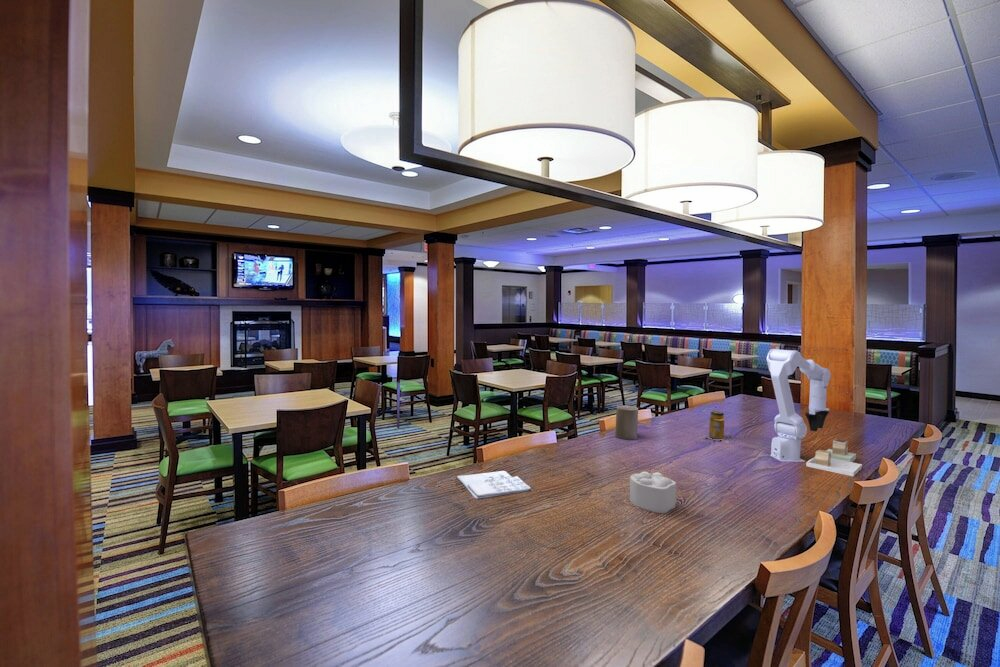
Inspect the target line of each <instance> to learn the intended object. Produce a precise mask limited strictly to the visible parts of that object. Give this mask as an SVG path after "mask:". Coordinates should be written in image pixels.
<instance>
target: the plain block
mask: <svg viewBox="0 0 1000 667" xmlns="http://www.w3.org/2000/svg"><path fill="white" fill-rule="evenodd" d="M814 457H815V464H819V465H824V466H828V467H829V466H830V465H831V452H829V451H826V450H823V449H818V450H816V451H815V456H814Z"/></svg>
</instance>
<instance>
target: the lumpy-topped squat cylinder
mask: <svg viewBox="0 0 1000 667" xmlns="http://www.w3.org/2000/svg"><path fill="white" fill-rule="evenodd" d="M676 494H677V482H676V481H674V480H672V479H670V478H668V477H666V476H664V475H663V473H661V472H658V471H656V472H653V473H651V472H648V471H641V472H640V473H633V474H631V475H630V478H629V501H630V503H631V504H633V505H634V506H636V507H638V508H640V509H643V510H646V511H648V512H649V511H650V512H653V513H657V514H667V513H668V512H669V511H671V510H673V509H675V508H676V505H677V504H676V500H677V497H676V496H677V495H676Z"/></svg>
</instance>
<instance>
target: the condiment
mask: <svg viewBox="0 0 1000 667" xmlns="http://www.w3.org/2000/svg"><path fill="white" fill-rule="evenodd" d="M724 417H725V416H724V412H721V411H717V410H716V411H711V412H710V417H709V432H708V436H709V437H710V438H712V439H723V437H724V438H725V418H724ZM706 437H707V436H705V437H703V439H705V438H706Z"/></svg>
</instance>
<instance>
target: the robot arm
mask: <svg viewBox="0 0 1000 667" xmlns="http://www.w3.org/2000/svg"><path fill="white" fill-rule="evenodd" d="M766 363H767V367H768V371H769V372H770V377H771V382H772V385H773V386H772V387H773V390H774V395H775V399H776V403H777V408H778V414H776V415H775V417H774V418H773V420H774V428H773V429H774V431H775V433H776V434H777V436H773V437H772V438H771V439H772V440H771V442H770V443H771V448H770V454H769V456H770V457H772V458H774V459H775V460H778V461H779V462H784V463H786V462H789V463H790V462H792V463H793V462H801V463H802V462H806V460H805V459H802V458H801V449H802V447H801V445H802V443H801V442H802V439H804V438H805V437H806V436H807V432H808V427H807V424H806V423H805V421H804V418H803V417H802V416H801V415H799V414H798V413H797V412H796V410H795V404H794V400H793V395H792V390H791V387H790V382H789V376H791V375H793V374H794V373H795V371H796V369H797V368H799V370H800V372H801V373H803V374H804V375H805V376H806V377H807V379H808V381H809V399H808V400H809V401H808V402H809V403H808V412H805V417H806V418H807V421H808V424H809V430H810V431H811V432H817V431H818V430H819V429H823V427H824V424H825V421H826V419H827V416H828V415H829V413H830V408H829V407H827V391H828V390H827V388H828V387H829V383H830V379H831V376H832V375H831V371H830V370H829V369H828V368H826V367H822V366H820V365H821V364H818V363H816V362H815V360H814V359H805V358H804V357H803V356H802V353H801V352H799V351H798V350H795V349H794V350H791V349H790V350H789V349H778V348H777V349H776V348H771V349H769V351H768V352H767V356H766Z"/></svg>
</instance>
